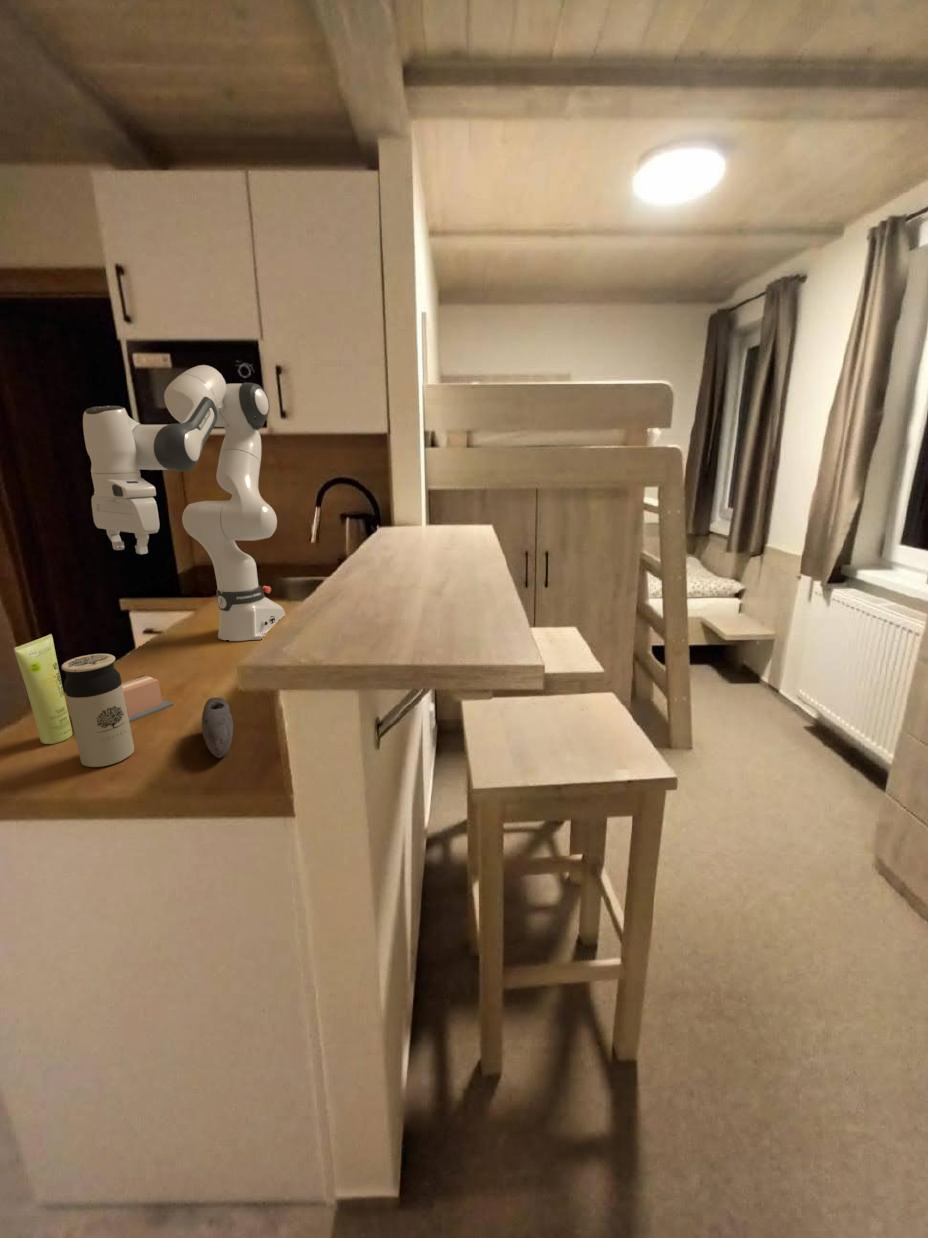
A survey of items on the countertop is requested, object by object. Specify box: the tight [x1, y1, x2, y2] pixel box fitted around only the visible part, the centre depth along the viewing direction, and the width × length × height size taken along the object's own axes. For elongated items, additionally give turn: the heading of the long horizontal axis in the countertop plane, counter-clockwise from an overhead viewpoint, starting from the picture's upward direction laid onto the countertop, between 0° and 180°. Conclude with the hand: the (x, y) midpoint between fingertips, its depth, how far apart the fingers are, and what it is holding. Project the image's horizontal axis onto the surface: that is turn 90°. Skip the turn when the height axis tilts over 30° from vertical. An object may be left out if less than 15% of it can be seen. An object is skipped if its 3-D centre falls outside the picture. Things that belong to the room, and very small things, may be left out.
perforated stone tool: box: [201, 697, 234, 759], centre depth 99 cm, size 15×5×7 cm, turn 23°
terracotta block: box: [122, 675, 163, 717], centre depth 113 cm, size 4×7×6 cm, turn 148°
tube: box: [13, 633, 74, 745], centre depth 99 cm, size 6×5×20 cm
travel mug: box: [61, 653, 135, 768], centre depth 93 cm, size 8×8×18 cm
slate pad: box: [128, 698, 174, 723], centre depth 113 cm, size 10×8×1 cm
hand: (130, 551), depth 119 cm, fingers open, 8 cm apart
